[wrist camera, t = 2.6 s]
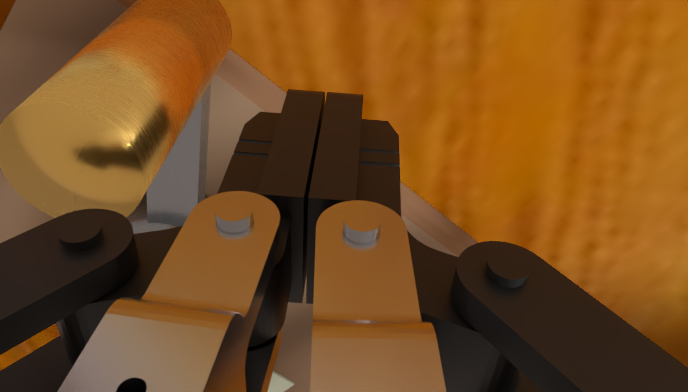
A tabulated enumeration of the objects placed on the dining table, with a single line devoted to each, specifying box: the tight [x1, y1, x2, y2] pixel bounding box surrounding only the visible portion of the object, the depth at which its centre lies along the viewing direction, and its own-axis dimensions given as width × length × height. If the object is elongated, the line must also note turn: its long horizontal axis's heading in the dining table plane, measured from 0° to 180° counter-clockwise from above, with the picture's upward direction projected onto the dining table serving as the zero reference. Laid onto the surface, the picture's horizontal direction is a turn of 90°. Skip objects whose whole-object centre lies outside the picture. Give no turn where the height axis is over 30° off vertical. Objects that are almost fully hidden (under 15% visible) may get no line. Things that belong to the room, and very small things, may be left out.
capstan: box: [0, 0, 232, 234], centre depth 18 cm, size 18×6×8 cm, turn 169°
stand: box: [0, 0, 477, 392], centre depth 23 cm, size 19×15×3 cm
